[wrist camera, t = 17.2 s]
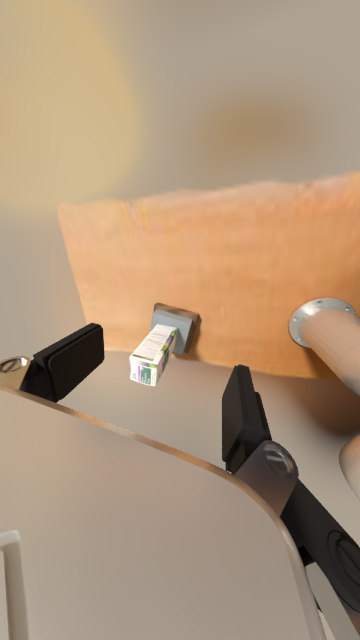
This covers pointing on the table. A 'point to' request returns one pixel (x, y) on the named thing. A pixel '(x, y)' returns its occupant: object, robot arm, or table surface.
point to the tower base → (185, 314)
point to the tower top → (173, 321)
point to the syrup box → (153, 355)
